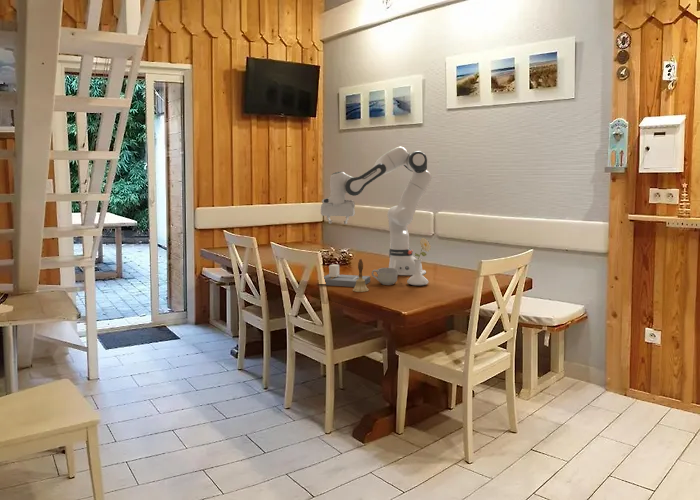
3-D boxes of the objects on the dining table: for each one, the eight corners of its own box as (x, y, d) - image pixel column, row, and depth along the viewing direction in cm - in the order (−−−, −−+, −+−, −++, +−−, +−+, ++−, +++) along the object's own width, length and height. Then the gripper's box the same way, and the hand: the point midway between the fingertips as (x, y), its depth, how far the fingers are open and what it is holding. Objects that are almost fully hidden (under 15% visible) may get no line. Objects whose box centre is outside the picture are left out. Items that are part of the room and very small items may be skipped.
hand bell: (350, 289, 314) (349, 258, 312) (365, 288, 317) (365, 257, 315) (356, 292, 307) (355, 261, 304) (371, 291, 309) (371, 260, 307)
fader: (339, 275, 334) (339, 264, 333) (336, 277, 329) (336, 266, 328) (332, 275, 335) (332, 264, 334) (329, 276, 330) (329, 265, 329)
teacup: (399, 282, 331) (400, 268, 330) (394, 286, 321) (394, 271, 320) (375, 281, 336) (375, 266, 334) (369, 285, 325) (369, 270, 324)
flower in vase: (414, 287, 317) (415, 240, 314) (402, 284, 327) (403, 237, 324) (435, 285, 323) (436, 238, 320) (423, 281, 333) (423, 236, 330)
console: (370, 281, 334) (370, 276, 334) (361, 287, 319) (361, 281, 319) (329, 279, 342) (329, 273, 341) (318, 284, 327) (318, 278, 326)
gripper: (356, 199, 355) (356, 223, 356) (323, 199, 361) (323, 222, 363) (352, 200, 349) (353, 224, 351) (319, 199, 355) (319, 223, 357)
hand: (337, 223), depth 357 cm, fingers open, 8 cm apart
